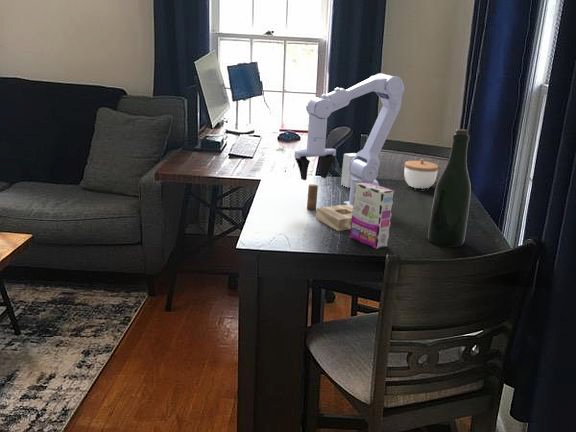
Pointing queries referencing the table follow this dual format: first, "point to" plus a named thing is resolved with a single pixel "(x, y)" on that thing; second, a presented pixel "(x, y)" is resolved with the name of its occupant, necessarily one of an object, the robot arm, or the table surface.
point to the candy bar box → (371, 214)
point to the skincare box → (347, 170)
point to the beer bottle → (452, 197)
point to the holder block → (336, 216)
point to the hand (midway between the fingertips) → (313, 178)
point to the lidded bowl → (420, 173)
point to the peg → (312, 197)
